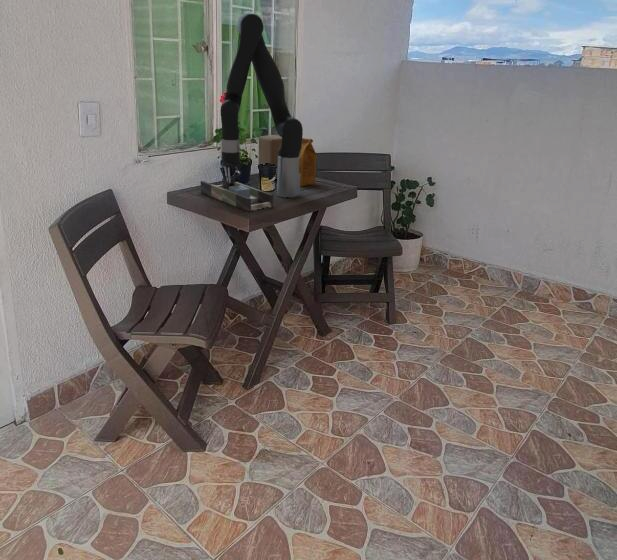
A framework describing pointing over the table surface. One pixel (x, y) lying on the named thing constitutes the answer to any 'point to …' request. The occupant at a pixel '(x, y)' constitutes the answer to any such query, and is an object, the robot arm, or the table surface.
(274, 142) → the block
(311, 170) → the coffee package
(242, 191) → the slate block
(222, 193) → the trap lane
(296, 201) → the table surface
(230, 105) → the robot arm
